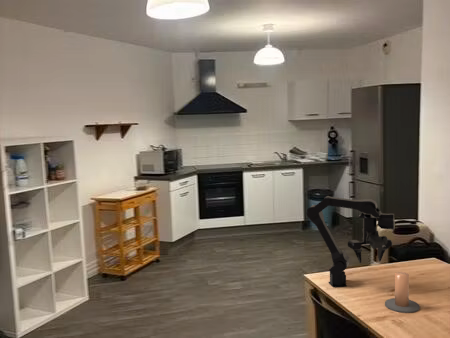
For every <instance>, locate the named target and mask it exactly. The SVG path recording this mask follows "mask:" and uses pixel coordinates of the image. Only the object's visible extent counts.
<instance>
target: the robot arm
mask: <svg viewBox="0 0 450 338" xmlns="http://www.w3.org/2000/svg"><path fill="white" fill-rule="evenodd" d="M330 206H331V207H335V208H344V209H351V210H356V211H359V213H360V212H361V213H360V214H359V215H358V218H359V219H362V220H363V221H362V227H363V228H362V229H361V232H362V234H363V235H362V238H361V240H362V241H360V240H357V239H352V240H351V239H349V240H348V242H347V248H350V249H352V251H353V252H354V254H355V255H356V258H357V260H358V262H359V264H362V252H363V249H362V247H366V246H367V247H371V248H372V249H373V250H377V260H378V262H381V261H382V259H383V256H384V254H385V252H386V250H388V249H390V247H393V241H392V240H391V239H390V238H388V237H387V236H386V235H381V236H380V234H379V231H378V229H377V227H379V229H381V230H393V231H394V230H395V228H396V227H395V225H396V224H395V223H396V220H395V213H383V212H382V211H381V210H380V209H379V207H378V203H377V201H376V200H374V199H371V198H365V199H364V198H363V199H351V198H342V197H335V196H331V195H330V196H329V195H327V196H325V197H324V198H323V199H322V200H320V202H318V203H317V204H313V205H311V206H310V207H308V208H307V209H306V216H307V218H308V219H309V220H310V221H311V223H312V224H314V225H315V227H316V228H317V230H318V233H319V234H320V236H321V238H322V239H323V241H324V243H325V244H326V247H327V249H328V250H329V252H330V255H331V261H332V263H333V264H331V266H330V268H329V269H328V270H329V271H328V272H329V281H328V282H327V283H328V284H329V285H331V287H333V288H341V287H347V286H348V285H347V275H346V272H345V270H347V268H348V266H349V263H350V256H349V255H348V254H347V251H346V250H341V248H340V247H339V245H338V243H337V241H336V240H335V238H334V236H333V234H332V232H331V231H330V229H329V227H328V226H327V225H328V224H327V223H326V221H325V216H324V213H323V211H324V210H326V208H327V207H330Z"/></svg>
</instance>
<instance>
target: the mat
mask: <svg viewBox="0 0 450 338" xmlns="http://www.w3.org/2000/svg"><path fill="white" fill-rule="evenodd" d="M384 305H385V307H386V308H387V309H388V310H390V311H393V312H396V313H403V314H413V313H417V312H419V311H420V307H421V306H420V304H419V303H418V302H416V301H414V300H412V299H409V306H407V307H400V306H397V305H395V297H393V298H389V299H386V300H385V301H384Z"/></svg>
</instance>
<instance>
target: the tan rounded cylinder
mask: <svg viewBox="0 0 450 338" xmlns="http://www.w3.org/2000/svg"><path fill="white" fill-rule="evenodd" d="M409 274H410V273H407V272H403V271H397V272H395V273H394V298H395V305H397V306H400V307H407V306H409V300H410V298H409V297H410V275H409Z"/></svg>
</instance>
